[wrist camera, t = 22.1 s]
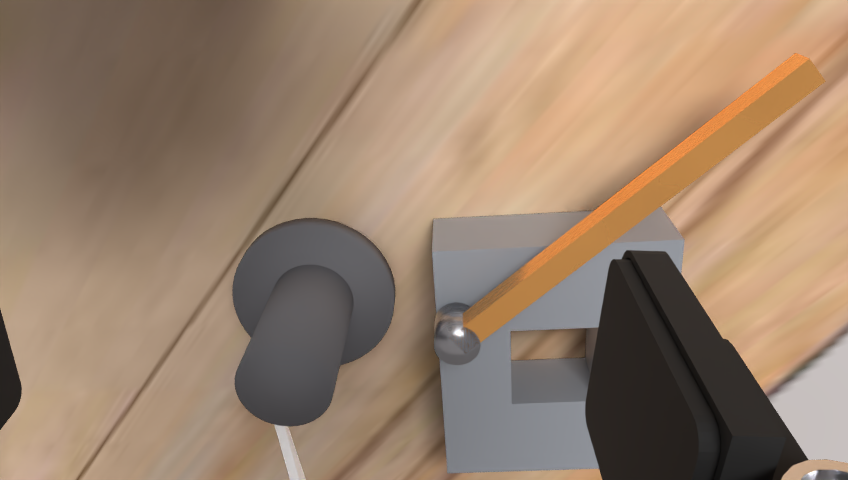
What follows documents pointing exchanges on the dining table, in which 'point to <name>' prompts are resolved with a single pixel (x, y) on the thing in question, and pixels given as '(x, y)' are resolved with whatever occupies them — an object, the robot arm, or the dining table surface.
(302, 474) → the fork
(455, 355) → the orange stick
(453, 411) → the socket block
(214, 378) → the dining table surface
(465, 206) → the dining table surface
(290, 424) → the plug
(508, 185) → the dining table surface
